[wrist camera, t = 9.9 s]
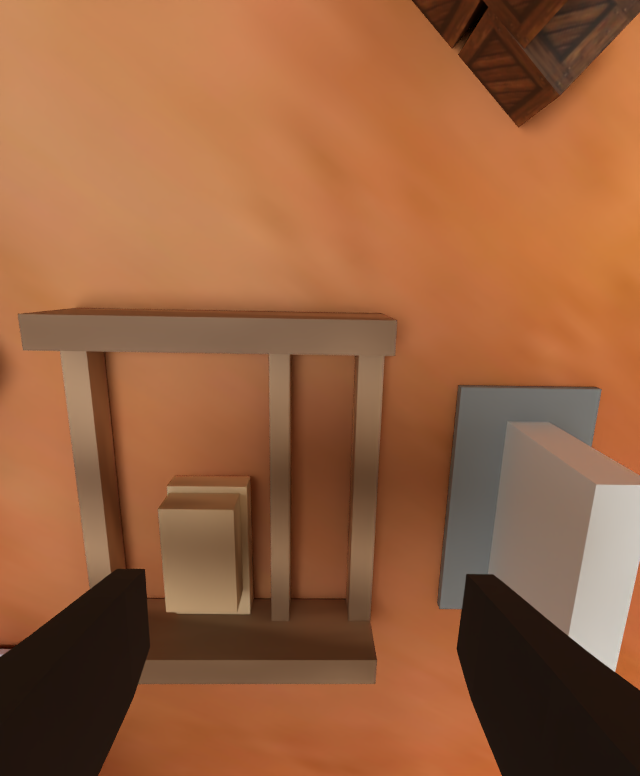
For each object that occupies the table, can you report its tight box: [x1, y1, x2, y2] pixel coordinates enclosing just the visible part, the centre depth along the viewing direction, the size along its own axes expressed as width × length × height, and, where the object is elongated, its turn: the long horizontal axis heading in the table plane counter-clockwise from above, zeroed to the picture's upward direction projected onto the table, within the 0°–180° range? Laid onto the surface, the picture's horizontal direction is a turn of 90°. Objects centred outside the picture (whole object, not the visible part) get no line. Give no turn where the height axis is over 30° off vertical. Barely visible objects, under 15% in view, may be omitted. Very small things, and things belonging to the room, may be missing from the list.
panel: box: [488, 421, 640, 672], centre depth 17 cm, size 8×2×6 cm, turn 179°
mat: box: [437, 385, 602, 609], centre depth 20 cm, size 11×6×1 cm, turn 179°
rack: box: [18, 308, 397, 684], centre depth 18 cm, size 15×12×4 cm
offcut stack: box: [158, 476, 254, 614], centre depth 19 cm, size 6×3×3 cm, turn 179°
